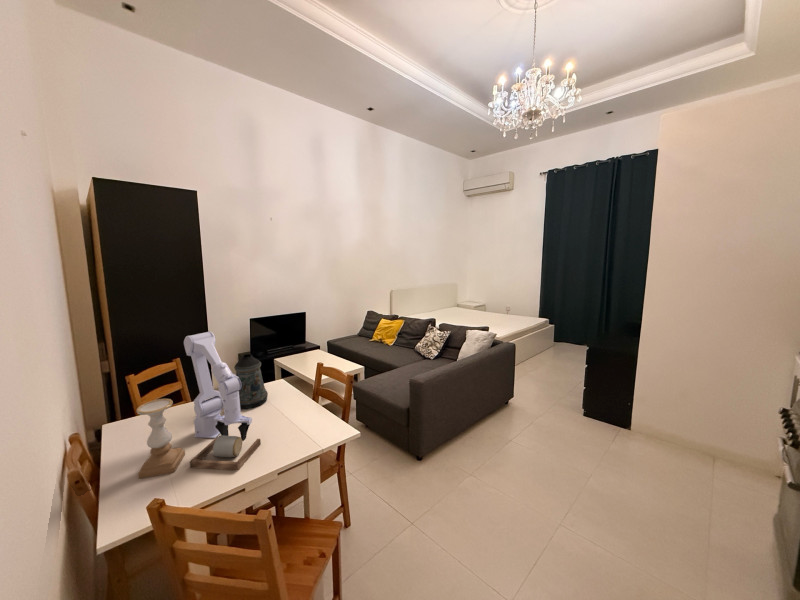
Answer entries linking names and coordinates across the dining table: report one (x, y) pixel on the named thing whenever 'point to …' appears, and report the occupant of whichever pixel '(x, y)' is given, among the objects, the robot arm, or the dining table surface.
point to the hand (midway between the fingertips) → (234, 439)
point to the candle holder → (159, 441)
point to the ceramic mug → (227, 446)
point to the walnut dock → (222, 465)
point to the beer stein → (250, 383)
